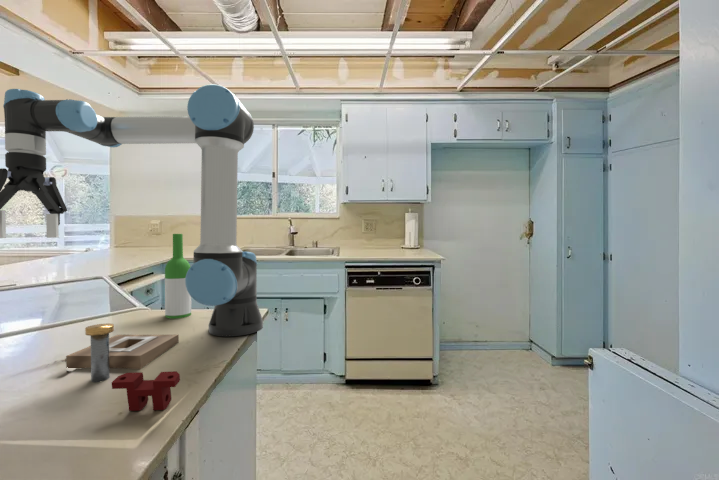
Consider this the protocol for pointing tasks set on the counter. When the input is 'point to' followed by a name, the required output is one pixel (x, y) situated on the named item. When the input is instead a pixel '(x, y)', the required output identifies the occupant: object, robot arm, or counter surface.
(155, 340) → the wooden square socket block
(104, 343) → the flanged metal peg
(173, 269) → the wine bottle
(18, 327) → the counter surface
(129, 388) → the bracket
